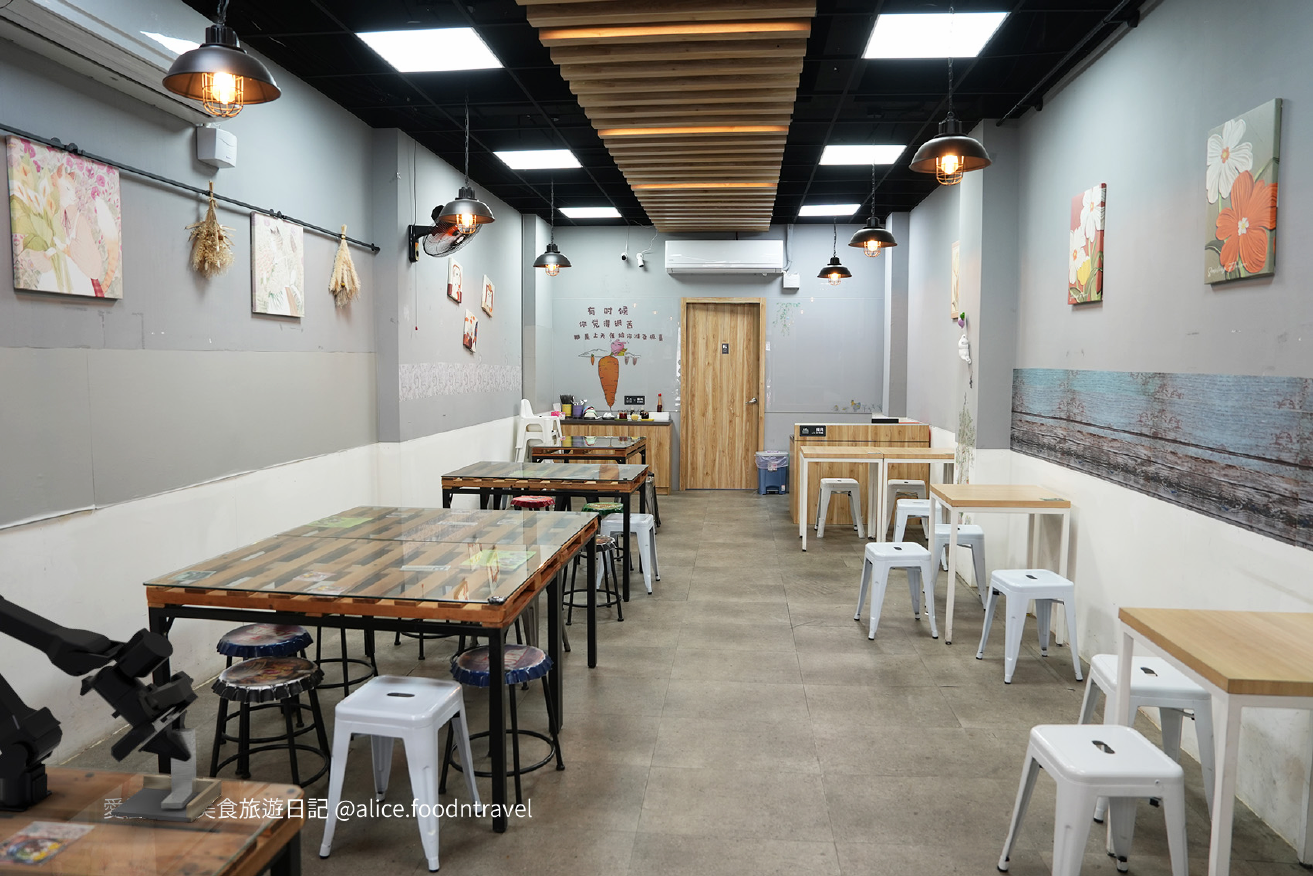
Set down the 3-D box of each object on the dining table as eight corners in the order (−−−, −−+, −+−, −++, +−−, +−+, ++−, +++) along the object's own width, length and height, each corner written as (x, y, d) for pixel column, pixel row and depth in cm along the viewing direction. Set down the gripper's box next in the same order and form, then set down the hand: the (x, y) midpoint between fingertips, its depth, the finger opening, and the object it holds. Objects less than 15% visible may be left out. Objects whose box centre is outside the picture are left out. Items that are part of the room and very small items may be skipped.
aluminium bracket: (196, 793, 146) (195, 728, 146) (182, 808, 141) (180, 740, 141) (176, 794, 146) (174, 728, 145) (161, 808, 141) (159, 740, 140)
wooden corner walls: (111, 816, 140) (111, 799, 140) (146, 790, 149) (146, 774, 149) (191, 822, 140) (191, 805, 140) (221, 796, 149) (221, 780, 149)
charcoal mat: (111, 816, 140) (111, 811, 140) (146, 790, 149) (146, 785, 149) (191, 822, 140) (191, 817, 140) (221, 796, 149) (221, 791, 149)
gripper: (131, 683, 134) (199, 750, 136) (188, 646, 153) (247, 706, 154) (80, 728, 134) (149, 795, 136) (143, 686, 153) (203, 745, 154)
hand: (191, 757), depth 145 cm, fingers closed on aluminium bracket
